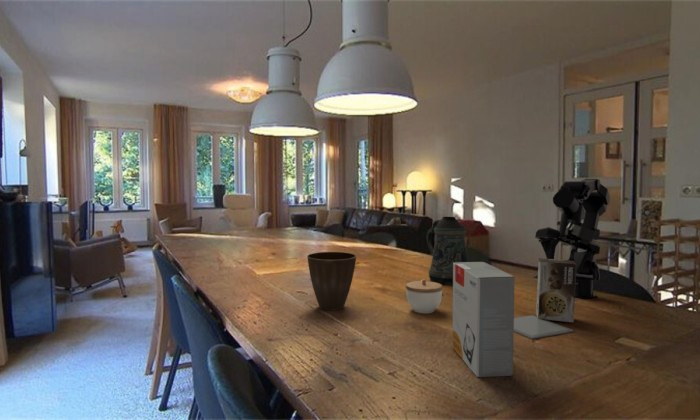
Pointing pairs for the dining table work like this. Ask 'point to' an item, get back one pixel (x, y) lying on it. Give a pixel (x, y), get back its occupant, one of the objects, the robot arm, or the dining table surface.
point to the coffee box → (556, 290)
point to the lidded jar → (423, 295)
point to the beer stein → (446, 249)
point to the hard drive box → (483, 318)
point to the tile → (537, 327)
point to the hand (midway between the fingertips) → (563, 269)
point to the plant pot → (331, 277)
